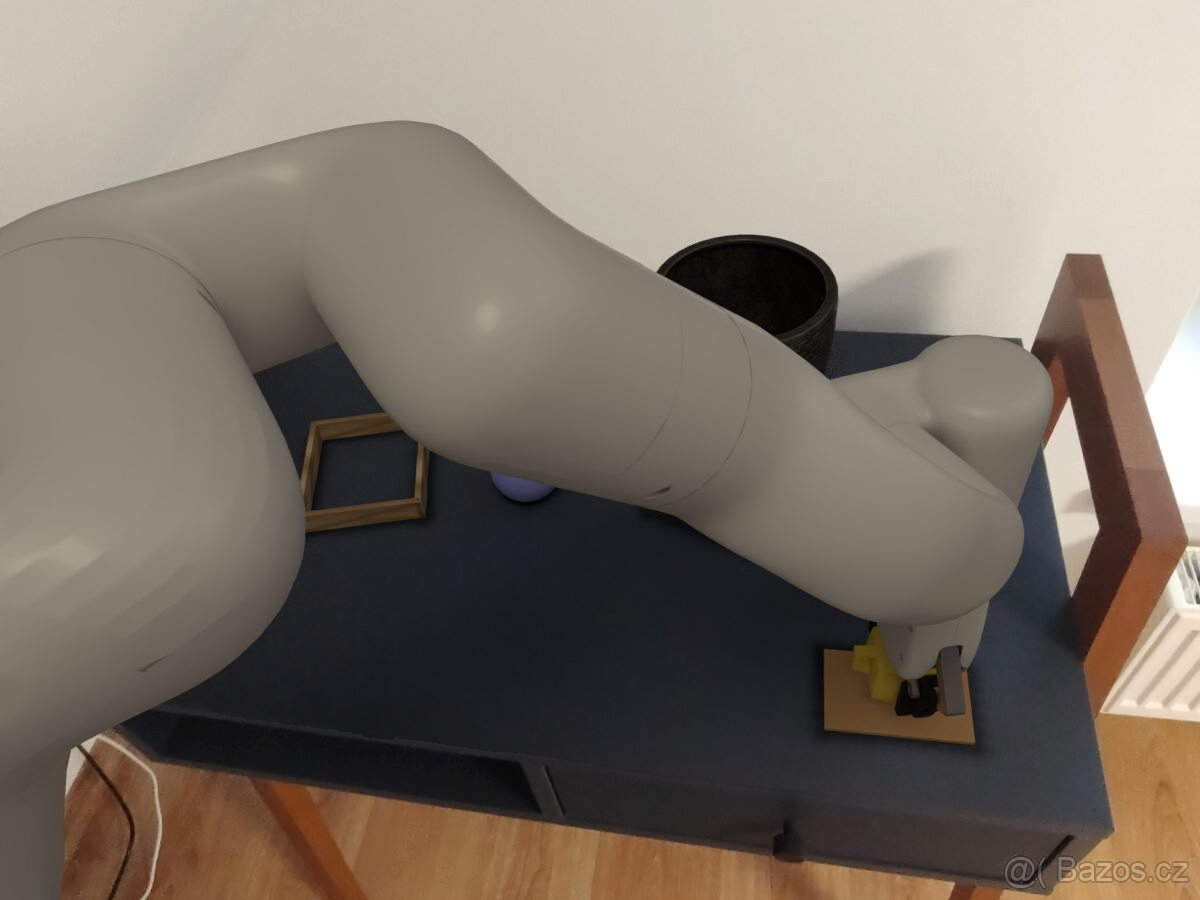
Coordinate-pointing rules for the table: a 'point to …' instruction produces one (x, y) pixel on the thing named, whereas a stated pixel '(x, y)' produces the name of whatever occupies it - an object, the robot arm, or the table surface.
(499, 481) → the sphere
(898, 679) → the teapot
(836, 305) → the planter
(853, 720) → the cork mat
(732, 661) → the table surface
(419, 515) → the wooden frame
